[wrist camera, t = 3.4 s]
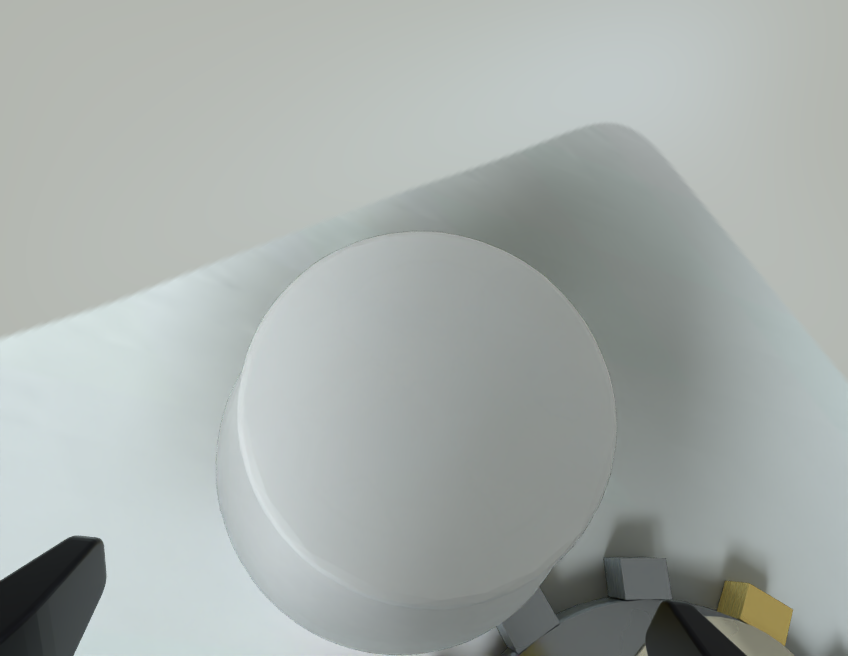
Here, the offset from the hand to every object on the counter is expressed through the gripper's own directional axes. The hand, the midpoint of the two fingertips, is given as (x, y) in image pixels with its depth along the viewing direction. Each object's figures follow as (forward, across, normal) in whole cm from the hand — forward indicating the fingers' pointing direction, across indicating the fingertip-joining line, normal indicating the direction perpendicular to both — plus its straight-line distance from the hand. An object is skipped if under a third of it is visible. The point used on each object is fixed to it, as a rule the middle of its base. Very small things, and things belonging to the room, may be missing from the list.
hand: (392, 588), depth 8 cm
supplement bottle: (+8, 0, +5) cm, 10 cm away
